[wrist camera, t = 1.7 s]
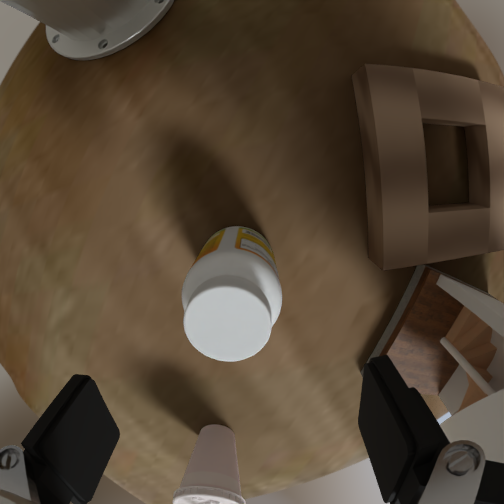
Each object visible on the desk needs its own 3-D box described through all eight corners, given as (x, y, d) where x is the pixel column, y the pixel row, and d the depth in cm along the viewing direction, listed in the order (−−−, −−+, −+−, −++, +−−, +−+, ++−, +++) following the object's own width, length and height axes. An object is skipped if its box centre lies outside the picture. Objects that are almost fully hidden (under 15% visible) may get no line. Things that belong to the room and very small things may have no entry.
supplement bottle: (206, 296, 23) (180, 375, 14) (196, 228, 22) (156, 274, 12) (276, 291, 23) (289, 370, 14) (271, 221, 22) (284, 264, 12)
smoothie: (181, 441, 28) (158, 546, 15) (196, 408, 27) (170, 530, 13) (235, 456, 29) (230, 559, 15) (256, 425, 27) (257, 545, 14)
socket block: (351, 75, 19) (364, 63, 16) (485, 91, 18) (505, 87, 15) (368, 257, 22) (383, 270, 19) (493, 239, 22) (513, 248, 19)
